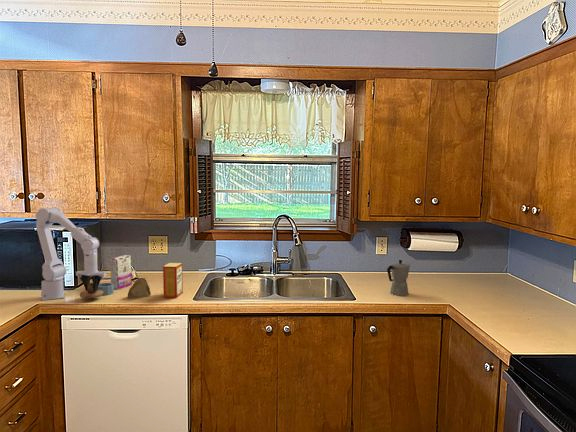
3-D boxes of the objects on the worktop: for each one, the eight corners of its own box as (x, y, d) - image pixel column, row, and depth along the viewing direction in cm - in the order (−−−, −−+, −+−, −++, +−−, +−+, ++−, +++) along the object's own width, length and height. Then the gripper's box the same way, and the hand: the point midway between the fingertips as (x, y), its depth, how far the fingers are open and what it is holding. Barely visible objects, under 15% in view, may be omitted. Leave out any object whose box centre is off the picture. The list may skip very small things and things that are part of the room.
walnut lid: (79, 298, 195) (79, 287, 194) (79, 293, 204) (79, 282, 203) (104, 296, 199) (103, 284, 199) (102, 291, 209) (102, 280, 208)
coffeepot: (402, 290, 225) (403, 257, 223) (415, 294, 217) (416, 260, 215) (380, 293, 217) (381, 259, 216) (393, 298, 209) (394, 263, 208)
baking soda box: (170, 292, 215) (169, 262, 214) (182, 292, 215) (182, 262, 213) (163, 297, 206) (163, 265, 204) (176, 298, 206) (176, 266, 204)
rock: (122, 295, 201) (141, 293, 200) (125, 278, 206) (144, 276, 205) (132, 303, 210) (151, 301, 209) (135, 287, 215) (153, 285, 214)
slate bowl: (95, 296, 207) (95, 287, 206) (94, 292, 214) (94, 283, 214) (114, 294, 211) (114, 285, 210) (112, 290, 218) (112, 282, 218)
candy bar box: (124, 283, 232) (124, 254, 230) (132, 284, 230) (131, 255, 228) (110, 288, 221) (109, 258, 220) (118, 289, 219) (117, 259, 218)
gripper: (71, 264, 197) (72, 292, 198) (100, 265, 195) (100, 293, 197) (80, 261, 204) (81, 288, 205) (108, 262, 202) (109, 289, 204)
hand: (91, 290), depth 201 cm, fingers closed on walnut lid, 4 cm apart
